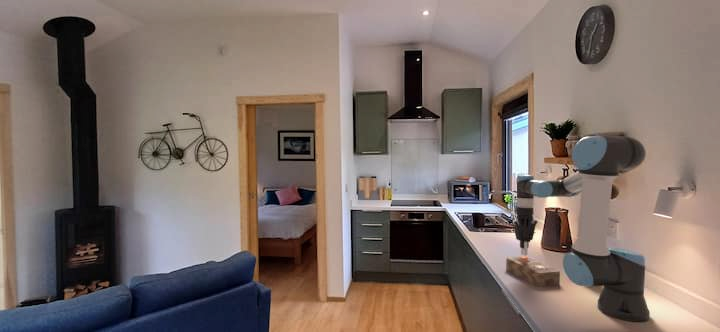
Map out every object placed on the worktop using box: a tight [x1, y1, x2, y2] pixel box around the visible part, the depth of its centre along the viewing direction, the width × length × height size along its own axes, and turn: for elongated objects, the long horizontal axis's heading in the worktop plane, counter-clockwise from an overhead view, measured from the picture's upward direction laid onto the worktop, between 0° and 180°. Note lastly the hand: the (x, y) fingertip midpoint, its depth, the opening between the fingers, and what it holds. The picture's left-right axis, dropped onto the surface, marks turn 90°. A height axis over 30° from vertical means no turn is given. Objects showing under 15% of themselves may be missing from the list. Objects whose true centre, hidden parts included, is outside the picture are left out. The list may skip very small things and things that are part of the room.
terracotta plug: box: [518, 255, 529, 262], centre depth 164 cm, size 4×4×6 cm
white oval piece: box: [535, 266, 545, 270], centre depth 153 cm, size 4×4×6 cm
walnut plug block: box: [505, 256, 561, 287], centre depth 159 cm, size 22×11×6 cm, turn 13°
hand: (524, 254), depth 164 cm, fingers closed
